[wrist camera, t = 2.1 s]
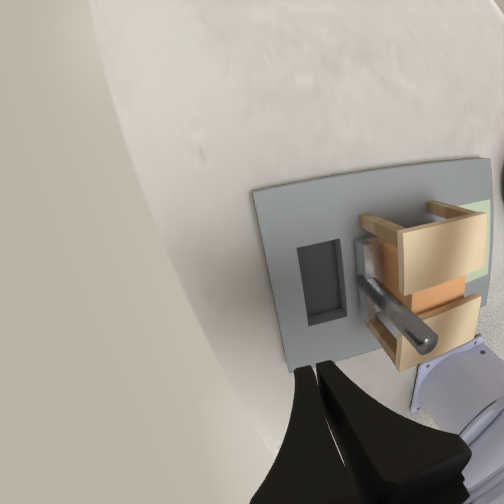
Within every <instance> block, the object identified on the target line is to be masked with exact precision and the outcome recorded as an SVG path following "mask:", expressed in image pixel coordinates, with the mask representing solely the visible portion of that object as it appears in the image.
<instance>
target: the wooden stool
mask: <svg viewBox="0 0 504 504" xmlns="http://www.w3.org/2000/svg"><path fill="white" fill-rule="evenodd" d="M426 211H427V213H430V214H433V215H436V216H439V217H442V218H445V219H446V220H441V221H437V222H433V223H429V224H424V225H420V226H416V227H411V228H404V227H402V226H400V225H397V224H395V223H393V222H390V221H388V220H385V219H383V218H381V217H378V216H376V215H373V214H371V213H366V214H361V215H358V216H359V225H360V227H361V228H363V229H365V230H367V231H369V232H371V233H372V234H374V235H376V236H378V237H380V238H381V239H383V240H385V241H387V242H389V243H390V244H392V245H394V246H396V247H397V248H398V263H399V292H400V293H401V294H402V295H403V296H406V295H409V294H413V293H416V292H419V291H422V290H425V289H428V288H430V287H433V286H436V285H439V284H442V283H445V282H447V281H450V280H453V279H456V278H458V277H461V276H464V275H466V274H469V273H472V272H474V271H477V270H479V269H482V268H484V267H485V259H486V241H487V213H485V212H481V211H479V212H476V211H472V210H469V209H465V208H462V207H458V206H454V205H450V204H447V203H443V202H439V201H435V200H433V201H427V202H426ZM481 297H482V296H481V295H479V294H478V293H474V294H471V295H469V296H467V297H464V298H462V299H460V300H457V301H455V302H452V303H450V304H447V305H445V306H442V307H440V308H437V309H435V310H432V311H429V312H427V313H424V314H421V315H418V317H419V318H420V319H421V320H422V321H423V322H424V323H425V324H427V325H428V326H429V327H430V328H431V329H432V330H433V331H434V332H435V333H436V334H437V335H438V342H437V345H436V346H435V348H434V349H433V350H432V351H431V352H430V353H428V354H426V355H420V354H419V353H418V352H417V351H416V350H415V348H414V347H413V346H412V345H411V344H410V343H409V342H408V340H407V339H406V338H405V337H404V336H403V335H402V334H401V332H400V331H399V330H398V336H397V339H396V338H395V337H394V336H393V334H392V333H391V332H390V331H389V330H388V328H387V327H386V326H385V325H384V324H383V322H382V321H381V320H380V319H379V318H378V317H377V315H376V314H375V321H373V322H369V323H367V321H366V326H367V327H368V329H369V330H370V331H371V333H372V334H373V335H374V337H375V338H376V339H377V341H378V342H379V344H380V345H381V346H382V348H383V349H384V350H385V352H386V353H387V354H388V356H389V357H390V359H391V360H392V361H393V363H394V364H395V367H396V368H397V370H398V371H399V372H400V371H403V370H405V369H408V368H410V367H413V366H415V365H418V364H420V363H423V362H425V361H427V360H430V359H432V358H434V357H437V356H439V355H441V354H443V353H445V352H448V351H450V350H452V349H454V348H456V347H458V346H460V345H462V344H464V343H466V342H468V341H470V340H472V339H474V336H475V331H476V326H477V321H478V316H479V310H480V303H481Z"/></svg>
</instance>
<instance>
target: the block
mask: <svg viewBox="0 0 504 504" xmlns="http://www.w3.org/2000/svg"><path fill="white" fill-rule="evenodd" d="M381 246H382V262H383V285H384V286H385V287H386V288H388V289H389V290H390V291H391V292H392V293H393V294H394V295H395V296H396V297H398V298H399V299H400V300H401V301H402V302H403V303H404V304H405V305H406V306H407V307H408V308H410V309H411V310H412V311H413V312H414V313H415V314H416V315H417V316H418V315H421V314H424V313H427V312H429V311H432V310H435V309H437V308H440V307H442V306H445V305H447V304H450V303H452V302H455V301H457V300H460V299H462V298H464V292H465V282H466V275H464V276H461V277H458V278H456V279H453V280H450V281H447V282H445V283H442V284H439V285H436V286H433V287H430V288H428V289H425V290H422V291H419V292H416V293H413V294H409V295H406V296H403V295H402V294H401V293H400V292H399V263H398V248H397V247H396V246H394V245H392V244H390V243H389V242H388V243H384V244H381Z"/></svg>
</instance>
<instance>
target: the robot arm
mask: <svg viewBox="0 0 504 504" xmlns="http://www.w3.org/2000/svg"><path fill="white" fill-rule="evenodd" d="M483 340H484V336H483V335H479V336H477V337H476V338H474V339H472V340H470V341H468V342H466V343H464V344H462V345H460V346H458V347H456V348H454V349H452V350H450V351H448V352H445V353H443V354H441V355H439V356H437V357H434V358H432V359H430V360H427V361H425V362H423V363H421V364H420V365H419V367H418V373H417V379H416V384H415V390H414V395H413V399H412V404H411V408H410V412H411V413H415V412H417V411H420V410H422V409H424V408H426V410H427V411H428V413H429V414H430V416H431V417H432V419H433V420H434V422H435V423H436V425H437V426H438V428H439V429H440V430H436V429H433V428H430V427H427V426H424V425H422V424H419V423H417V422H415V421H412V420H410V419H408V418H405V417H403V416H401V415H399V414H397V413H396V412H394V411H392V410H390V409H389V408H387V407H385V406H384V405H382V404H381V403H379V402H378V401H376V400H375V399H373V398H372V397H371V396H369V395H368V394H367V393H365V392H364V391H363V390H362V389H361V388H359V387H358V386H357V385H356V384H355V383H354V382H352V381H351V380H350V379H349V378H348V377H347V376H346V375H345V374H344V373H343V372H342V371H341V370H340V369H339V368H338V367H337V366H336V365H335V363H334V362H333V361H331V360H327V361H323V362H319V363H316V372H317V380H318V385H317V380H316V376H315V373H314V371H313V369H312V367H311V365H307V366H303V367H299V368H296V369H295V370H294V377H295V392H294V400H293V407H292V412H291V416H290V421H289V425H288V428H287V431H286V434H285V437H284V440H283V443H282V445H281V448H280V450H279V453H278V455H277V457H276V459H275V462H274V463H273V465H272V467H271V469H270V471H269V473H268V474H267V476H266V478H265V480H264V481H263V483H262V484H261V486H260V487H259V489H258V490H257V492H256V493H255V494H254V496H253V497H252V499H251V501H250V504H504V361H503V360H502V359H501V358H499V357H498V356H497V355H496V354H495V353H494V352H493V351H492V350H491V349H489V348H488V347H487V346H486V345H485V344H484V343H483ZM324 415H325V416H324ZM325 418H326V419H325ZM326 420H327V422H326ZM327 423H328V424H327ZM328 425H329V427H330V429H329V427H328ZM330 430H331V432H332V435H333V437H334V439H335V442H336V444H337V446H338V449H339V451H340V453H341V456H342V459H343V461H344V464H345V466H344V464H343V461H342V459H341V457H340V454H339V452H338V450H337V447H336V445H335V442H334V440H333V437H332V435H331V432H330Z"/></svg>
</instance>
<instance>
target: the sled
mask: <svg viewBox="0 0 504 504" xmlns="http://www.w3.org/2000/svg"><path fill="white" fill-rule="evenodd" d="M434 222H437V221H434ZM430 223H433V222H430ZM425 224H429V223H425ZM421 225H424V224H421ZM417 226H420V225H417ZM412 227H416V226H412ZM408 228H411V227H408ZM384 243H388V242H387V241H385V240H383V239H381V238H380V237H378V236H376V235H373V236H368V237H364V238H359V239H355V250H356V260H357V272H358V278H357V285H358V286H359V302H360V314H361V315H362V316H363V318H364V319H365V320H366V321H367V323H369V322H373V321H375V312H379V311H382V312H383V313H384V315H385V316H386V317H387V318H388V319H389V320H390V321H391V322H392V323H393V325H394V326H395V327H396V328H397V329H398V330H399V331H400V332H401V334H402V335H403V336H404V337H405V338H406V339H407V340H408V342H409V343H410V344H411V345H412V346H413V347H414V348H415V350H416V351H417V352H418V353H419V354H420V355H426V354H428V353H430V352H431V351H432V350H433V349H434V348H435V346H436V345H437V342H438V335H437V334H436V333H435V332H434V331H433V330H432V329H431V328H430V327H429V326H428V325H427V324H425V323H424V322H423V321H422V320H421V319H420V318H419V317H418V316H417V315H416V314H415V313H414V312H413V311H412V310H411V309H410V308H408V307H407V306H406V305H405V304H404V303H403V302H402V301H401V300H400V299H399V298H398V297H396V296H395V295H394V294H393V293H392V292H391V291H390V290H389V289H388V288H386V287H385V286H384V285H383V262H382V246H381V244H384Z"/></svg>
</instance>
